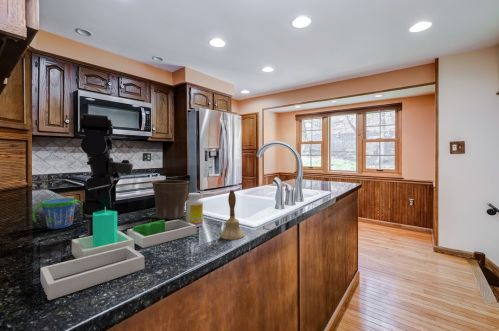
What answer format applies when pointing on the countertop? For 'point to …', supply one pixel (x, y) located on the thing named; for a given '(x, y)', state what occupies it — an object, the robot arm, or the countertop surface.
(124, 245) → the bin
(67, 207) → the snack cup
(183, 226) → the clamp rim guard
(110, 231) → the candle
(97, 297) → the countertop surface
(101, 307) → the countertop surface
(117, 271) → the grey rectangular frame
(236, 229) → the hand bell
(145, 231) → the pipe clamp
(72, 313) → the countertop surface
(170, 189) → the plant pot
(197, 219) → the supplement bottle
